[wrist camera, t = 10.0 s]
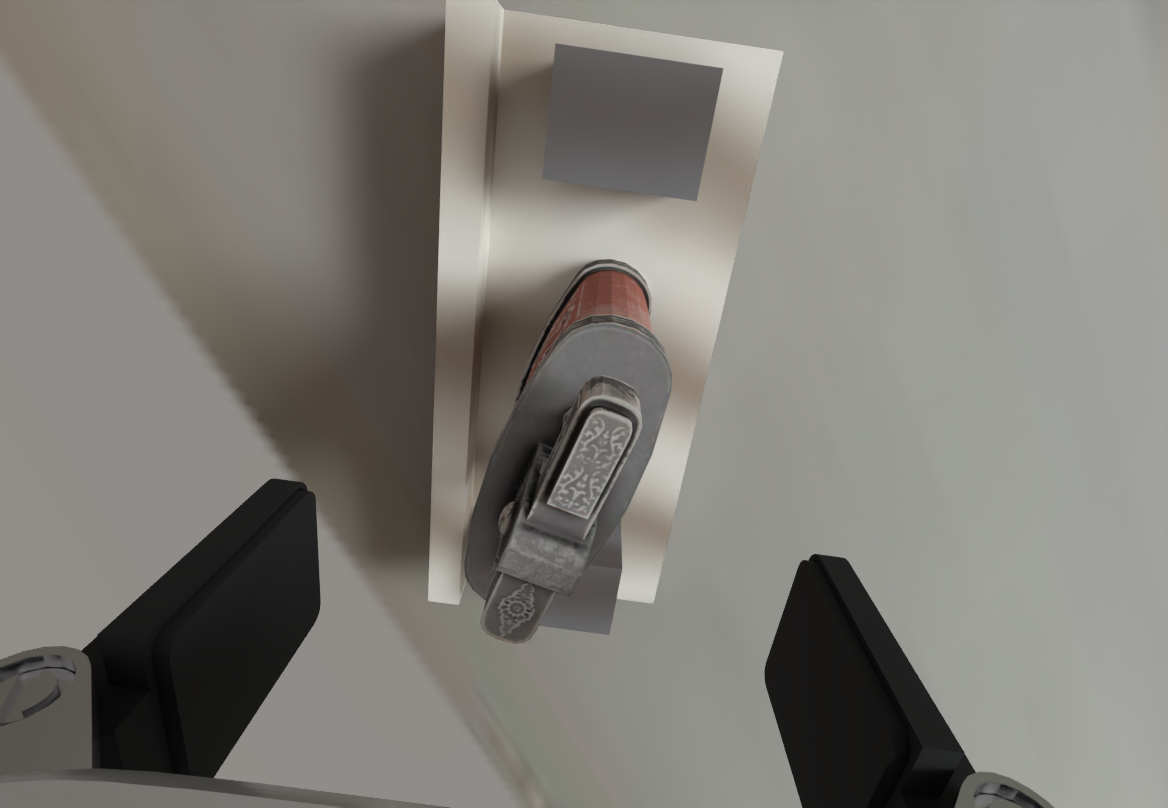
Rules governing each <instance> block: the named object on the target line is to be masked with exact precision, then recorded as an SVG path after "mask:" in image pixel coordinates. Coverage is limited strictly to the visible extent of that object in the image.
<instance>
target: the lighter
mask: <svg viewBox="0 0 1168 808" xmlns="http://www.w3.org/2000/svg"><path fill="white" fill-rule="evenodd" d="M651 305H652V298H651V295H650V291H649V288H648V285H647V283H646V280H645V279H644V278H643V277H642V275H641V274H640V273H639V272H638V270H636V269H635V268H633V267H632V266H630V265H629V264H627V263H625V262H621V261H618V260H614V259H600V260H596V261H593V262H591V263H589V264H586V265H585V266H584V267H583V268H582V269H581V270H580V271H579V272H578V273H577V274H576V276H575V277H574V279H573V280H572V282H571V283H570V285H569V286H568V288H567V289H566V291H565V292H564V294H563V295H562V297H561V298H560V299H559V301H558V302H557V304H556V305H555V307H554V308H553V310H552V312H551V314H550V316H549V318H548V320H547V321H546V323H545V325H544V327H543V329H542V331H541V333H540V335H539V337H538V339H537V341H536V343H535V345H534V347H533V349H532V351H531V354H530V356H529V359H528V362H527V365H526V368H525V371H524V374H523V377H522V380H521V383H520V386H519V390H518V393H517V396H516V399H515V402H514V407H513V411H512V412H511V414H510V416H509V418H508V420H507V422H506V424H505V426H504V428H503V430H502V432H501V434H500V436H499V438H498V440H497V442H496V444H495V447H494V449H493V452H492V454H491V457H490V460H489V463H488V466H487V469H486V472H485V476H484V479H483V482H482V485H481V488H480V491H479V494H478V497H477V501H476V504H475V507H474V510H473V513H472V518H471V524H470V531H469V537H468V543H467V549H466V555H465V561H464V570H465V577H466V579H467V581H468V582H469V584H470V586H471V588H472V589H473V590H474V591H475V592H476V593H477V594H479V595H480V596H481V597H482V598H483V599H484V600H486V603H485V607H484V610H483V614H482V618H481V621H480V623H481V627H482V629H483V630H484V631H485V632H486V633H487V634H488V635H490V636H493V637H495V638H497V639H500V640H503V641H506V642H510V643H514V644H517V643H524V642H526V641H528V640H530V639H531V637H532V636H533V635H534V634H535V632H536V630H537V628H538V626H539V624H540V622H541V621H542V619H543V617H544V615H545V613H546V611H547V609H548V607H550V606H552V605H553V604H554V603H556V602H557V601H558V600H560V599H561V598H562V597H563V595H565V596H570V595H571V593H572V592H573V591H574V589H575V587H576V585H577V583H578V582H579V580H580V578H581V576H582V574H583V572H584V571H585V570H586V569H587V568H588V567H589V565H590V564H591V563H592V562H593V561H594V560H595V558H596V557H597V555H598V554H599V552H600V551H601V549H602V548H603V546H604V545H605V543H606V542H607V540H608V538H609V537H610V535H611V534H612V532H613V531H614V529H615V528H616V526H617V525H618V523H619V522H620V520H621V519H622V517H623V516H624V514H625V513H626V511H627V509H628V507H629V505H630V502H631V500H632V498H633V496H634V494H635V491H636V489H637V487H638V485H639V483H640V480H641V478H642V476H643V474H644V472H645V469H646V467H647V465H648V463H649V461H650V458H651V456H652V454H653V451H654V447H655V444H656V441H657V437H658V434H659V431H660V428H661V424H662V421H663V418H664V414H665V411H666V408H667V405H668V401H669V398H670V395H671V390H672V371H671V367H670V364H669V361H668V358H667V355H666V352H665V349H664V346H663V345H662V343H661V342H660V341H659V340H658V339H657V337H656V336H655V335H654V334H653V329H652V325H651V321H650V314H651Z"/></svg>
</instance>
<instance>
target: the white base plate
mask: <svg viewBox="0 0 1168 808" xmlns="http://www.w3.org/2000/svg"><path fill="white" fill-rule="evenodd" d="M783 52H784V51H778V50H771V49H764V48H758V47H751V46H744V45H738V44H731V43H724V42H718V41H711V40H704V39H698V38H691V37H684V36H678V35H671V34H664V33H657V32H651V31H644V30H637V29H631V28H624V27H617V26H611V25H604V24H597V23H591V22H584V21H577V20H571V19H564V18H557V17H551V16H544V15H537V14H531V13H524V12H517V11H510V10H504V9H503V8H502V6H501V5H500V4H499V2H498V1H497V0H446V20H445V54H444V87H443V120H442V154H441V187H440V221H439V254H438V287H437V321H436V354H435V388H434V421H433V454H432V488H431V521H430V555H429V588H428V601H433V602H440V603H448V604H456V605H459V602H460V599H461V596H462V593H463V590H464V587H465V584H466V581H467V579H466V577H465V570H464V561H465V555H466V549H467V543H468V537H469V531H470V524H471V518H472V513H473V510H474V507H475V504H476V501H477V497H478V494H479V491H480V488H481V485H482V482H483V479H484V476H485V472H486V469H487V466H488V463H489V460H490V457H491V454H492V452H493V449H494V447H495V444H496V442H497V440H498V438H499V436H500V434H501V432H502V430H503V428H504V426H505V424H506V422H507V420H508V418H509V416H510V414H511V412H512V411H513V407H514V402H515V399H516V396H517V393H518V390H519V386H520V383H521V380H522V377H523V374H524V371H525V368H526V365H527V362H528V359H529V356H530V354H531V351H532V349H533V347H534V345H535V343H536V341H537V339H538V337H539V335H540V333H541V331H542V329H543V327H544V325H545V323H546V321H547V320H548V318H549V316H550V314H551V312H552V310H553V308H554V307H555V305H556V304H557V302H558V301H559V299H560V298H561V297H562V295H563V294H564V292H565V291H566V289H567V288H568V286H569V285H570V283H571V282H572V280H573V279H574V277H575V276H576V274H577V273H578V272H579V271H580V270H581V269H582V268H583V267H584V266H585V265H586V264H589V263H591V262H593V261H596V260H600V259H614V260H618V261H621V262H625V263H627V264H629V265H630V266H632V267H633V268H635V269H636V270H638V272H639V273H640V274H641V275H642V277H643V278H644V279H645V280H646V283H647V285H648V288H649V291H650V295H651V298H652V305H651V314H650V321H651V325H652V329H653V334H654V335H655V336H656V337H657V339H658V340H659V341H660V342H661V343H662V345H663V346H664V349H665V352H666V355H667V358H668V361H669V364H670V367H671V371H672V390H671V395H670V398H669V401H668V405H667V408H666V411H665V414H664V418H663V421H662V424H661V428H660V431H659V434H658V437H657V441H656V444H655V447H654V451H653V454H652V456H651V458H650V461H649V463H648V465H647V467H646V469H645V472H644V474H643V476H642V478H641V480H640V483H639V485H638V487H637V489H636V491H635V494H634V496H633V498H632V500H631V502H630V505H629V507H628V509H627V511H626V513H625V514H624V516H623V517H622V519H621V520H620V522H619V523H618V525H617V526H616V528H615V529H614V531H613V532H612V534H611V535H610V537H609V538H608V540H607V542H606V543H605V545H604V546H603V548H602V549H601V551H600V552H599V554H598V555H597V557H596V558H595V560H594V561H593V562H592V563H591V564H590V565H589V567H588V568H587V569H586V570H585V571H584V572H583V574H582V576H581V578H580V580H579V582H578V583H577V585H576V587H575V589H574V591H573V592H572V593H571V595H570V596H565V595H563V597H562V598H561V599H560V600H558V601H557V602H556V603H554V604H553V605H552V606H550V607H548V609H547V611H546V613H545V615H544V617H543V619H542V621H541V622H540V624H539V626H546V627H554V628H561V629H569V630H576V631H584V632H591V633H599V634H606V635H609V633H610V628H611V623H612V618H613V613H614V608H615V603H616V599H622V600H629V601H637V602H644V603H652V604H653V602H654V598H655V594H656V589H657V585H658V581H659V577H660V572H661V568H662V564H663V560H664V556H665V551H666V547H667V543H668V539H669V534H670V530H671V526H672V522H673V517H674V513H675V509H676V505H677V501H678V496H679V492H680V488H681V484H682V479H683V475H684V471H685V467H686V462H687V458H688V454H689V450H690V446H691V441H692V437H693V433H694V429H695V424H696V420H697V416H698V412H699V407H700V403H701V399H702V395H703V391H704V386H705V382H706V378H707V374H708V369H709V365H710V361H711V357H712V352H713V348H714V344H715V340H716V336H717V331H718V327H719V323H720V319H721V314H722V310H723V306H724V302H725V298H726V293H727V289H728V285H729V281H730V276H731V272H732V268H733V264H734V259H735V255H736V251H737V247H738V243H739V238H740V234H741V230H742V226H743V221H744V217H745V213H746V209H747V204H748V200H749V196H750V192H751V188H752V183H753V179H754V175H755V171H756V166H757V162H758V158H759V154H760V149H761V145H762V141H763V137H764V133H765V128H766V124H767V120H768V116H769V111H770V107H771V103H772V99H773V94H774V90H775V86H776V82H777V78H778V73H779V69H780V65H781V61H782V56H783Z"/></svg>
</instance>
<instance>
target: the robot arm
mask: <svg viewBox="0 0 1168 808" xmlns="http://www.w3.org/2000/svg"><path fill="white" fill-rule="evenodd" d="M318 562H319V560H318V539H317V519H316V499H315V495H314V493H313V492H311V491H307V487H306V485H305V484H304V483H303V482H295V481H288V480H281V479H270V480H269V481H267V482H266V483H265V484H264V485H263V486H262V487H261V488H259V489H258V490H257V491H256V492H255V493H254V494H253V495H252V496H251V497H250V498H248V499H247V500H246V501H245V502H244V503H243V504H242V505H241V506H240V507H239V508H237V509H236V510H235V511H234V512H233V513H232V514H231V515H230V516H228V517H227V518H226V519H225V520H224V521H223V522H222V523H221V524H220V525H218V526H217V527H216V528H215V529H214V530H213V531H212V532H211V533H210V534H209V535H207V536H206V537H205V538H204V539H203V540H202V541H201V542H200V543H199V544H198V545H196V546H195V547H194V548H193V549H192V550H191V551H190V552H189V553H188V554H186V555H185V556H184V557H183V558H182V559H181V560H180V561H179V562H178V563H176V564H175V565H174V566H173V567H172V568H171V569H170V570H169V571H168V572H167V573H166V574H164V575H163V576H162V577H161V578H160V579H159V580H158V581H157V582H156V583H154V584H153V585H152V586H151V587H150V588H149V589H148V590H147V591H146V592H144V593H143V594H142V595H141V596H140V597H139V598H138V599H137V600H136V601H134V602H133V603H132V604H131V605H130V606H129V607H128V608H127V609H126V610H125V611H123V612H122V613H121V614H120V615H119V616H118V617H117V618H116V619H115V620H113V621H112V622H111V623H110V624H109V625H108V626H107V627H106V628H105V629H103V630H102V631H101V632H100V633H99V634H98V636H97V637H96V638H95V639H94V640H93V641H92V642H91V643H90V644H88V645H87V646H86V647H85V648H84V649H83V650H82V651H80V650H78V649H74V648H69V647H65V646H56V647H42V648H37V649H33V650H28V651H23V652H20V653H18V654H15V655H12V656H9V657H7V658H4V659H1V660H0V808H447V807H441V806H433V805H425V804H418V803H410V802H402V801H395V800H386V799H379V798H371V797H363V796H355V795H348V794H339V793H332V792H324V791H316V790H309V789H301V788H293V787H285V786H277V785H269V784H261V783H253V782H244V781H234V780H225V779H215V778H214V776H215V775H216V773H217V772H218V770H219V768H220V767H221V765H222V764H223V762H224V761H225V759H226V758H227V756H228V755H229V753H230V751H231V750H232V749H233V747H234V746H235V744H236V743H237V741H238V739H239V738H240V736H241V735H242V733H243V732H244V730H245V729H246V727H247V726H248V724H249V723H250V721H251V720H252V718H253V717H254V715H255V714H256V712H257V710H258V709H259V707H260V706H261V704H262V703H263V701H264V700H265V698H266V697H267V695H268V694H269V692H270V691H271V689H272V688H273V686H274V685H275V683H276V681H277V680H278V678H279V677H280V675H281V674H282V672H283V671H284V669H285V668H286V666H287V665H288V663H289V662H290V660H291V658H292V657H293V656H294V654H295V652H296V651H297V649H298V648H299V646H300V645H301V643H302V642H303V640H304V638H305V637H306V636H307V634H308V632H309V631H310V630H311V628H312V626H313V625H314V623H315V621H316V619H317V617H318V614H319V610H320V581H319V563H318ZM765 684H766V688H767V691H768V694H769V698H770V701H771V704H772V708H773V711H774V714H775V718H776V721H777V724H778V728H779V731H780V734H781V738H782V741H783V744H784V748H785V751H786V754H787V757H788V761H789V764H790V767H791V771H792V774H793V777H794V781H795V784H796V787H797V791H798V794H799V797H800V801H801V804H802V807H803V808H1054V807H1053V806H1052V805H1051V804H1050V803H1049V802H1048V801H1046V800H1045V799H1044V798H1042V797H1041V796H1039V795H1038V794H1037V793H1035V792H1034V791H1033V790H1031V789H1030V788H1028V787H1026V786H1024V785H1023V784H1021V783H1019V782H1017V781H1015V780H1013V779H1011V778H1009V777H1005V776H1002V775H999V774H996V773H992V772H977V773H976V772H975V770H974V769H973V767H972V765H971V764H970V762H969V760H968V759H967V757H966V756H965V754H964V751H963V750H962V748H961V746H960V745H959V743H958V741H957V740H956V738H955V736H954V735H953V733H952V731H951V730H950V728H949V726H948V725H947V723H946V722H945V720H944V718H943V717H942V715H941V713H940V712H939V710H938V708H937V707H936V705H935V703H934V702H933V700H932V698H931V697H930V695H929V694H928V692H927V690H926V689H925V687H924V685H923V684H922V682H921V680H920V679H919V677H918V675H917V674H916V672H915V670H914V669H913V667H912V666H911V664H910V662H909V661H908V659H907V657H906V656H905V654H904V652H903V651H902V649H901V647H900V646H899V644H898V642H897V641H896V639H895V638H894V636H893V634H892V633H891V631H890V629H889V628H888V626H887V624H886V623H885V621H884V619H883V618H882V616H881V614H880V613H879V611H878V610H877V608H876V606H875V605H874V603H873V601H872V600H871V598H870V596H869V595H868V593H867V591H866V590H865V588H864V586H863V585H862V583H861V582H860V580H859V578H858V577H857V575H856V573H855V572H854V570H853V568H852V567H851V565H850V563H849V562H848V561H847V560H846V559H845V558H841V557H833V556H826V555H819V554H814V555H812V556H811V557H810V558H809V561H807V560H803V561H802V562H801V563H800V565H799V567H798V570H797V573H796V576H795V579H794V582H793V585H792V588H791V590H790V593H789V596H788V599H787V602H786V605H785V608H784V611H783V614H782V617H781V620H780V623H779V626H778V629H777V632H776V635H775V638H774V641H773V644H772V647H771V650H770V653H769V656H768V659H767V662H766V666H765Z"/></svg>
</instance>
